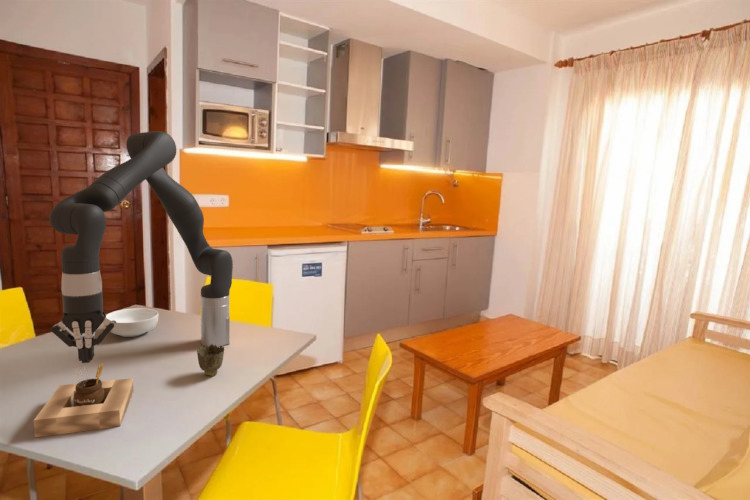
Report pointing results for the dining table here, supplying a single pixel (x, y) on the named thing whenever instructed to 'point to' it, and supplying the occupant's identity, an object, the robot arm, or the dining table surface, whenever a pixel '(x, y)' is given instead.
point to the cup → (210, 359)
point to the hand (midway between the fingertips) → (86, 361)
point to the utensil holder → (89, 390)
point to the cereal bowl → (133, 321)
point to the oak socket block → (84, 410)
